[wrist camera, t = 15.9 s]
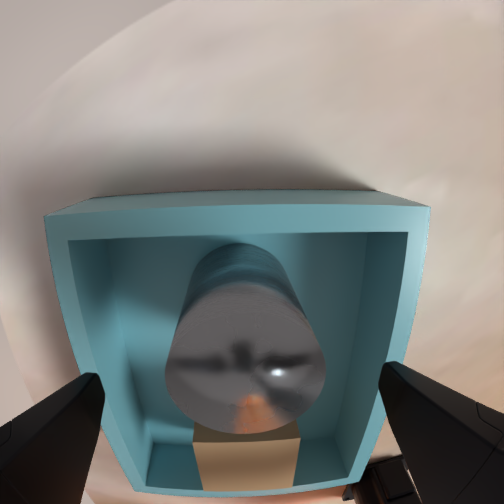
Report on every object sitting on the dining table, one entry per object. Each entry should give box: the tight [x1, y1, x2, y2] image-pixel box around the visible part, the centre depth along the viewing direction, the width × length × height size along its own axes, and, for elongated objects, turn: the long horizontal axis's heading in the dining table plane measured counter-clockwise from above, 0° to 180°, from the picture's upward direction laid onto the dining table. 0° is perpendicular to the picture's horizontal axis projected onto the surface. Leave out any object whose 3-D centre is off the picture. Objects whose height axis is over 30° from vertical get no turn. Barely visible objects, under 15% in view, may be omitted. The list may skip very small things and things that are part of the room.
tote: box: [44, 189, 431, 497], centre depth 16 cm, size 18×15×5 cm
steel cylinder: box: [165, 243, 326, 434], centre depth 13 cm, size 5×5×7 cm
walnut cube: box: [192, 419, 301, 492], centre depth 16 cm, size 5×5×5 cm
